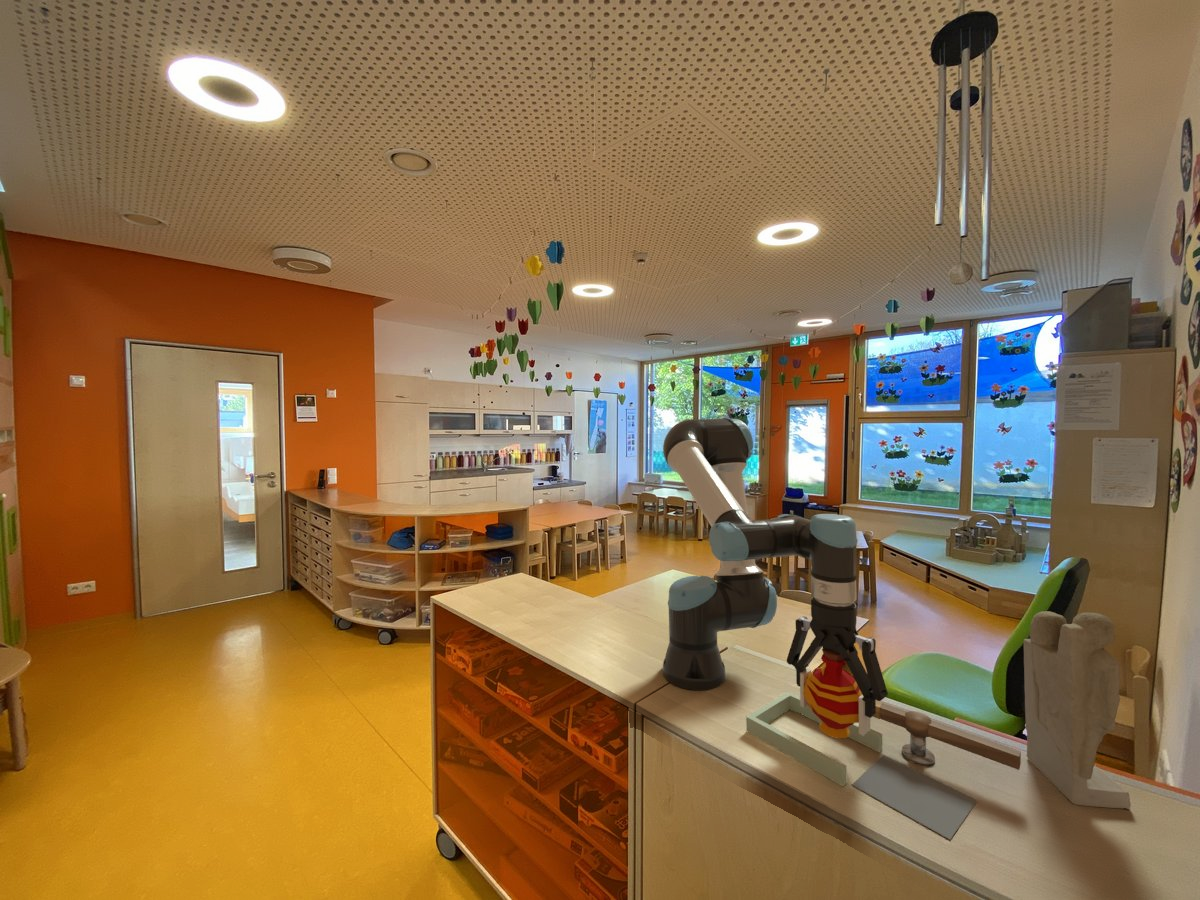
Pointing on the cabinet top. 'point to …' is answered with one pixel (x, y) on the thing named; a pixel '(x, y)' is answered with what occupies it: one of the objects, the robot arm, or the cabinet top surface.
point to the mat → (916, 795)
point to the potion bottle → (833, 695)
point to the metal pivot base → (918, 751)
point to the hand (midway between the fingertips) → (833, 717)
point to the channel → (796, 748)
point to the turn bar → (948, 734)
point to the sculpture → (1072, 704)
